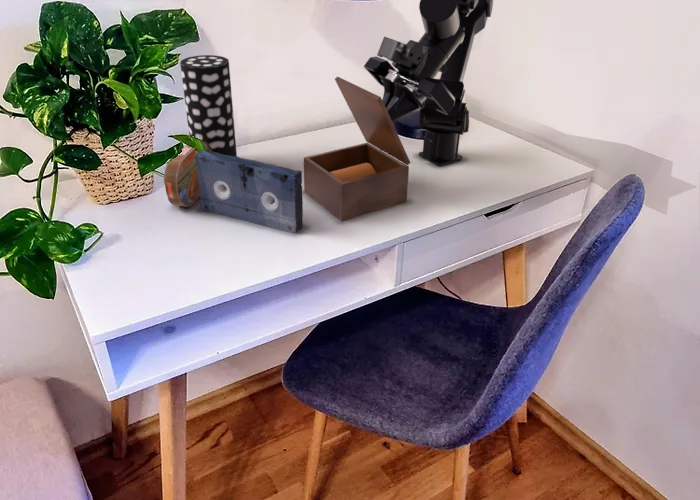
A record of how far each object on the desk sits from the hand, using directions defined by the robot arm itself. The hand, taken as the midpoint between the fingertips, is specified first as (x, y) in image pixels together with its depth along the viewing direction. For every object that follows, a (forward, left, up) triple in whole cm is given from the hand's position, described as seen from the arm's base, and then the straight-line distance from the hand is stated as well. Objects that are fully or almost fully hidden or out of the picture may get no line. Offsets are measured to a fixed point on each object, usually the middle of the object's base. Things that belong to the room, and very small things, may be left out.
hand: (377, 125), depth 105 cm
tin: (+28, -16, -13) cm, 35 cm away
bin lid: (+1, 0, +1) cm, 1 cm away
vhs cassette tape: (+23, -3, -13) cm, 26 cm away
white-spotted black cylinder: (+20, -25, -13) cm, 34 cm away
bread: (+5, 0, -12) cm, 13 cm away
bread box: (+4, 0, -12) cm, 13 cm away
